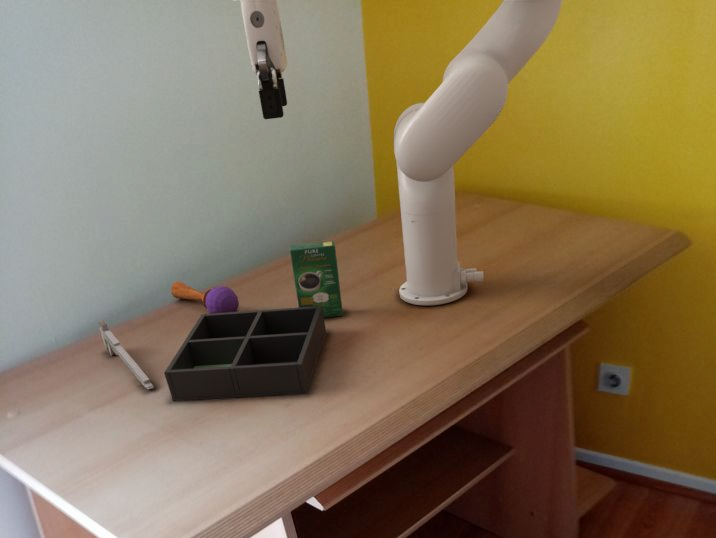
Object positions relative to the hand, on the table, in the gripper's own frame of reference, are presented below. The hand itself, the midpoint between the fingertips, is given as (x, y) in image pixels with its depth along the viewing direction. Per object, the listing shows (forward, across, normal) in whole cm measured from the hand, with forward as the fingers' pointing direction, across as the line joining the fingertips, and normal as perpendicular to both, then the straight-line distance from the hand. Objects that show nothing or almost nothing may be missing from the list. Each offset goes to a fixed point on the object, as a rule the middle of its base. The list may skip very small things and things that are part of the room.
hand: (276, 112), depth 124 cm
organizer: (+33, -23, +8) cm, 41 cm away
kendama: (+33, +4, +20) cm, 39 cm away
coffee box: (+33, -6, -3) cm, 34 cm away
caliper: (+34, -19, +30) cm, 49 cm away
